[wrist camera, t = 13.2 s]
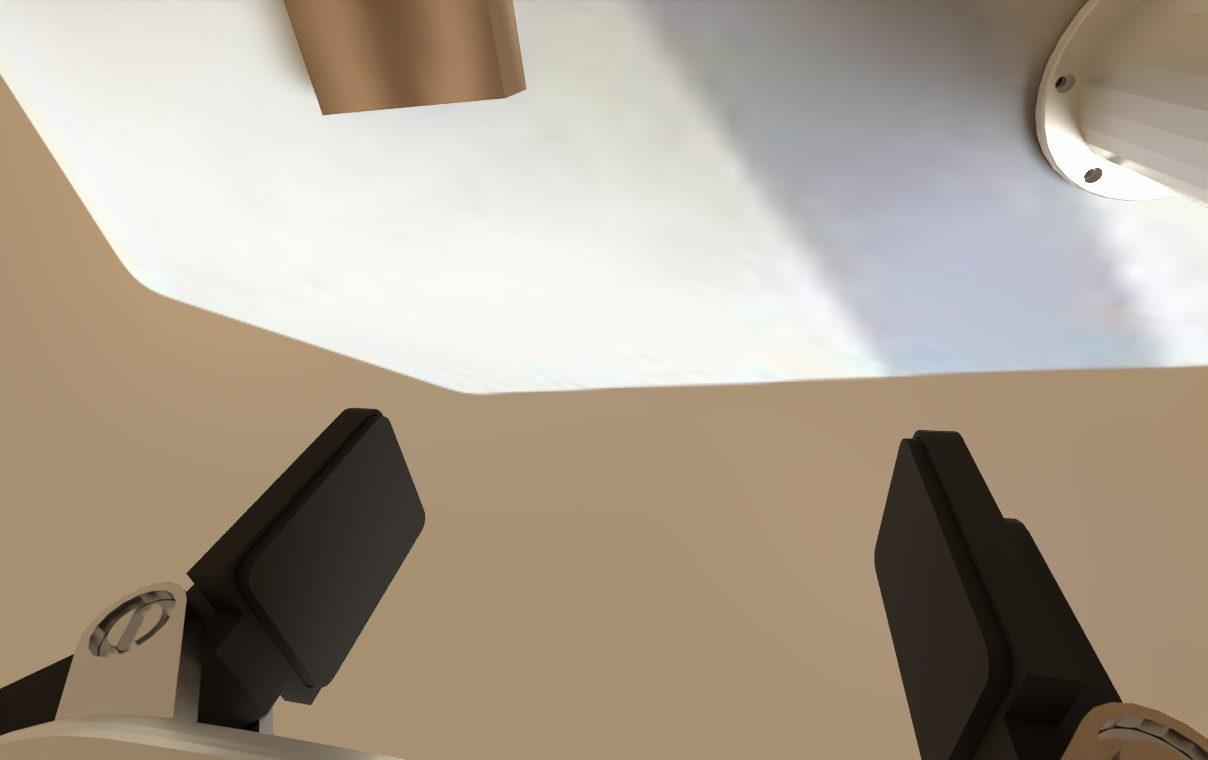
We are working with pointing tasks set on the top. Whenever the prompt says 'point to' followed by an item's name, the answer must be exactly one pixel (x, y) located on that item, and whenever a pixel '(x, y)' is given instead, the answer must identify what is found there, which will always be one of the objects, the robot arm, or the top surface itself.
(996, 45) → the top surface
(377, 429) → the robot arm
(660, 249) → the top surface
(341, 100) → the walnut base
